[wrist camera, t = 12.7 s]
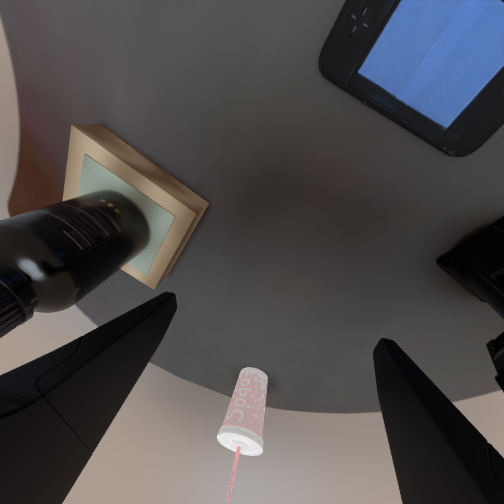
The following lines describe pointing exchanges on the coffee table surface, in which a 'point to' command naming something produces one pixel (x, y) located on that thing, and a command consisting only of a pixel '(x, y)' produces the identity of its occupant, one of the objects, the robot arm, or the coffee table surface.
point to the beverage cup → (245, 418)
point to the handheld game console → (424, 66)
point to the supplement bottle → (64, 253)
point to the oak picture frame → (135, 196)
